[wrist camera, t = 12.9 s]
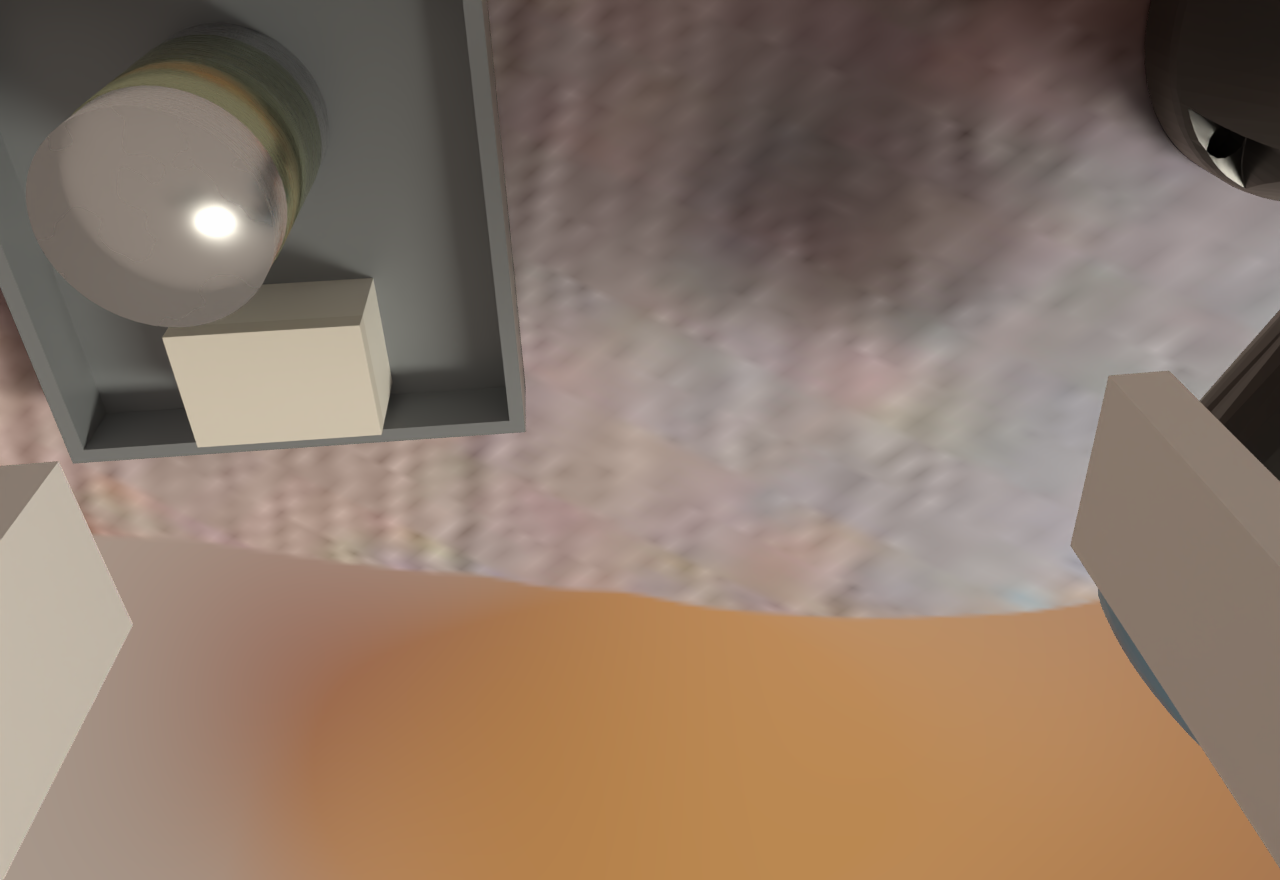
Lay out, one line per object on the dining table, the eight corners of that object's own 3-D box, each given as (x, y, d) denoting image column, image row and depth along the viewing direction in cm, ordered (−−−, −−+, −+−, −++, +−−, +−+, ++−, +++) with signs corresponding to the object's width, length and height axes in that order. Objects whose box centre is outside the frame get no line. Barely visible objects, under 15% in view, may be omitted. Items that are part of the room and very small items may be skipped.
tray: (480, -66, 34) (476, -49, 32) (525, 387, 45) (525, 431, 42) (-73, -46, 33) (-129, -26, 30) (102, 415, 43) (73, 463, 41)
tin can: (344, 201, 38) (296, 323, 30) (166, 208, 38) (68, 334, 30) (312, 18, 35) (247, 99, 26) (115, 23, 34) (-14, 108, 26)
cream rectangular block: (373, 278, 40) (359, 325, 37) (392, 382, 43) (381, 434, 40) (191, 288, 40) (162, 337, 37) (222, 393, 43) (197, 447, 39)
